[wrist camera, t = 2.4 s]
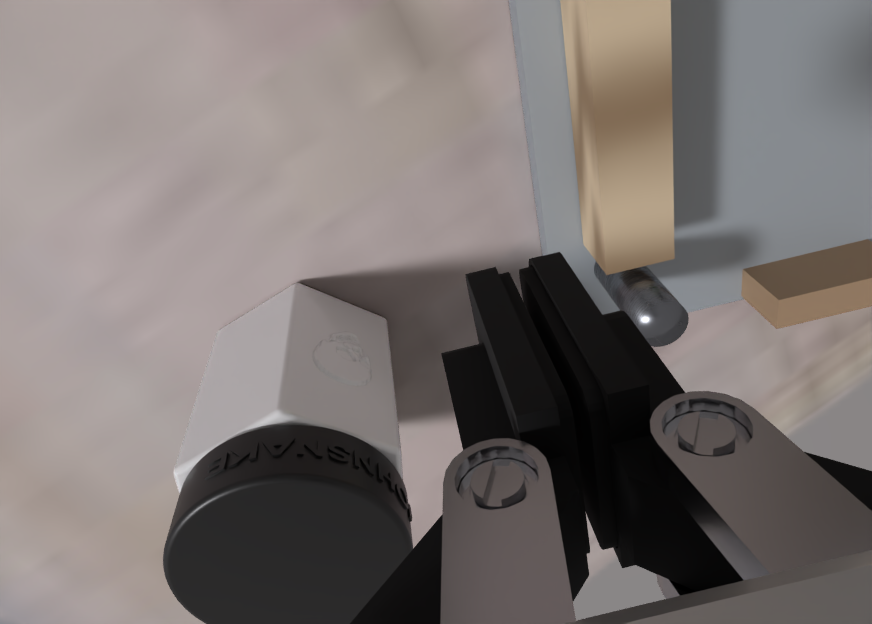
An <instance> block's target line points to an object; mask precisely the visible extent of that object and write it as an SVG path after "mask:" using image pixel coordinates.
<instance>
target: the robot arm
mask: <svg viewBox="0 0 872 624" xmlns="http://www.w3.org/2000/svg"><path fill="white" fill-rule="evenodd" d="M519 275H520V282H521V289H522V295H523V300H522V298H521V296H520V294H519V292H518V290H517V288H516V286H515V283H514V281H513V279H512V277H511V275H510V273H509V272H507V273H503V274H498V271H497V269H496V267H494V268H490V269H486V270H481V271H477V272H473V273H469V274H466V281H467V287H468V291H469V296H470V301H471V306H472V311H473V316H474V321H475V326H476V330H477V335H478V340H479V344H478V345H474V346H470V347H465V348H461V349H457V350H453V351H449V352H445V353H441V354H442V359H443V363H444V367H445V372H446V376H447V381H448V385H449V389H450V394H451V398H452V403H453V407H454V411H455V416H456V420H457V425H458V429H459V433H460V438H461V442H462V447H463V451H462V452H461V453H460V454H458V455H457V456H456V457H455V458H454V459H453V460H452V462H451V463H450V465H449V466H448V468H447V470H446V472H445V477H444V481H443V514H442V516H441V517H440V518H439V519H438V520H437V521H436V523H435V524H434V525H433V526H432V527H431V529H430V530H429V531H428V532H427V533H426V534H425V536H424V537H423V538H422V539H421V540H420V542H419V543H418V544H417V545H416V546H415V547H414V549H413V550H412V551H411V552H410V553H409V554H408V556H407V557H406V558H405V559H404V560H403V562H402V563H401V564H400V565H399V566H398V567H397V569H396V570H395V571H394V572H393V573H392V575H391V576H390V577H389V578H388V579H387V580H386V582H385V583H384V584H383V585H382V586H381V587H380V589H379V590H378V591H377V592H376V593H375V595H374V596H373V597H372V598H371V599H370V600H369V602H368V603H367V604H366V605H365V606H364V608H363V609H362V610H361V611H360V612H359V613H358V615H357V616H356V617H355V618H354V619H353V620H352V622H351V623H350V624H872V471H869V470H866V469H862V468H858V467H855V466H852V465H848V464H844V463H841V462H838V461H834V460H831V459H827V458H823V457H820V456H817V455H813V454H809V453H806V452H803V451H802V450H801V449H800V448H799V447H798V446H797V445H795V444H794V443H793V442H792V441H791V440H790V439H789V438H787V437H786V436H785V435H784V434H783V433H782V432H781V431H779V430H778V429H777V428H776V427H775V426H774V425H773V424H771V423H770V422H769V421H768V420H767V419H766V418H765V417H763V416H762V415H761V414H760V413H759V412H758V411H757V410H755V409H754V408H753V407H751V406H750V405H748V404H747V403H745V402H744V401H742V400H740V399H738V398H735V397H732V396H729V395H727V394H723V393H716V392H710V391H693V392H687V393H685V392H684V391H683V389H682V388H681V386H680V385H679V384H678V382H677V381H676V380H675V378H674V377H673V376H672V374H671V373H670V371H669V370H668V369H667V367H666V366H665V365H664V363H663V362H662V361H661V359H660V358H659V356H658V355H657V354H656V352H655V351H654V350H653V348H652V347H651V346H650V344H649V343H648V341H647V340H646V339H645V337H644V336H643V335H642V333H641V332H640V331H639V329H638V328H637V326H636V325H635V324H634V322H633V321H632V320H631V318H630V317H629V316H628V315H627V313H626V312H625V311H621V310H620V311H616V312H612V313H608V314H603V315H602V313H601V312H600V310H599V309H598V307H597V306H596V304H595V303H594V301H593V300H592V298H591V297H590V295H589V294H588V292H587V291H586V289H585V288H584V286H583V285H582V283H581V282H580V280H579V279H578V277H577V276H576V274H575V273H574V271H573V270H572V268H571V267H570V265H569V264H568V262H567V261H566V260H565V258H564V257H563V255H562V254H561V253H560V252H557V253H552V254H548V255H544V256H540V257H536V258H532V259H529V267H528V268H524V269H520V270H519ZM523 301H524V302H523ZM585 511H586V513H585ZM586 514H587V516H588V519H589V521H590V523H591V526H592V528H593V531H594V533H595V535H596V538H597V540H598V543H599V545H600V547H601V548H602V549H603V550H604V549H608V548H612V547H613V548H614V550H615V552H616V555H617V557H618V559H619V562H620V564H621V566H622V568H625V567H629V566H633V565H637V566H640V567H642V568H644V569H646V570H649V571H651V572H653V573H655V574H657V582H658V585H659V587H660V589H661V591H662V593H663V595H664V596H665V598H666V599H664V600H660V601H656V602H652V603H648V604H644V605H639V606H635V607H631V608H627V609H623V610H619V611H614V612H610V613H606V614H602V615H598V616H594V617H590V618H586V619H582V620H578V621H576V618H575V613H574V607H573V601H574V599H575V597H576V596H577V594H578V593H579V591H580V589H581V588H582V586H583V584H584V583H585V581H586V579H587V578H588V576H589V570H588V562H587V553H590V545H589V537H588V529H587V521H586Z"/></svg>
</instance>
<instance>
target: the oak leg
mask: <svg viewBox="0 0 872 624" xmlns="http://www.w3.org/2000/svg"><path fill="white" fill-rule="evenodd" d="M560 4H561V14H562V25H563V35H564V46H565V56H566V67H567V77H568V88H569V98H570V109H571V119H572V130H573V141H574V151H575V162H576V172H577V183H578V193H579V204H580V214H581V225H582V235H583V244H584V246H585V247H586V248H587V250H588V251H589V252H590V254H591V255H592V256H593V258H594V259H595V260H596V262H597V263H598V264H599V266H600V267H601V268H602V270H603V271H604V272H605V274H606V275H609V274H614V273H618V272H622V271H626V270H630V269H634V268H639V267H643V266H647V265H651V264H655V263H659V262H664V261H668V260H672V259H675V255H674V186H673V118H672V50H671V0H560Z"/></svg>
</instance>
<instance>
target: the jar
mask: <svg viewBox="0 0 872 624" xmlns="http://www.w3.org/2000/svg"><path fill="white" fill-rule="evenodd" d="M174 477H175V481H176V484H177V488H178V491H179V494H180V495H179V498H178V502H177V505H176V509H175V512H174V516H173V519H172V523H171V526H170V530H169V533H168V536H167V540H166V543H165V548H164V555H163V565H164V572H165V577H166V580H167V582H168V585H169V587H170V589H171V591H172V592H173V594H174V595H175V597H176V598H177V600H178V601H179V602H180V603H181V604H182V605H183V607H184V608H185V609H187V610H188V611H189V612H190V613H191V614H192V615H194V616H195V617H196V618H198V619H199V620H201V621H203V622H204V623H206V624H350V623H351V622H352V620H353V619H354V618H355V617H356V616H357V615H358V613H359V612H360V611H361V610H362V609H363V608H364V606H365V605H366V604H367V603H368V602H369V600H370V599H371V598H372V597H373V596H374V595H375V593H376V592H377V591H378V590H379V589H380V587H381V586H382V585H383V584H384V583H385V582H386V580H387V579H388V578H389V577H390V576H391V575H392V573H393V572H394V571H395V570H396V569H397V567H398V566H399V565H400V564H401V563H402V562H403V560H404V559H405V558H406V557H407V556H408V554H409V553H410V552H411V551H412V550H413V543H412V534H411V525H410V521H412V514H411V507H410V504H408V499H407V492H406V488H405V485H404V482H403V472H402V454H401V444H400V434H399V425H398V416H397V407H396V398H395V389H394V380H393V371H392V362H391V353H390V344H389V335H388V325H387V321H386V319H385V318H384V317H381V316H379V315H376V314H374V313H371V312H369V311H367V310H364V309H362V308H359V307H357V306H354V305H352V304H349V303H347V302H344V301H342V300H340V299H337V298H335V297H332V296H330V295H327V294H325V293H322V292H320V291H317V290H315V289H313V288H310V287H308V286H305V285H303V284H300V283H295V284H293V285H291V286H289V287H288V288H286V289H285V290H283V291H281V292H280V293H278V294H277V295H275V296H273V297H272V298H270V299H268V300H267V301H265V302H264V303H262V304H260V305H259V306H257V307H255V308H254V309H252V310H251V311H249V312H247V313H246V314H244V315H242V316H241V317H239V318H238V319H236V320H234V321H233V322H231V323H229V324H228V325H226V326H225V327H223V328H221V329H220V330H219V331H218V332H217V334H216V337H215V340H214V343H213V347H212V350H211V353H210V356H209V359H208V363H207V366H206V369H205V372H204V375H203V379H202V382H201V385H200V388H199V391H198V395H197V398H196V401H195V404H194V407H193V410H192V414H191V417H190V420H189V423H188V426H187V430H186V433H185V436H184V439H183V442H182V446H181V449H180V452H179V455H178V458H177V461H176V465H175V468H174Z"/></svg>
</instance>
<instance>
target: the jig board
mask: <svg viewBox="0 0 872 624" xmlns="http://www.w3.org/2000/svg"><path fill="white" fill-rule="evenodd" d="M509 7H510V15H511V22H512V30H513V37H514V45H515V52H516V60H517V67H518V75H519V83H520V90H521V98H522V105H523V113H524V120H525V128H526V135H527V143H528V150H529V158H530V165H531V173H532V181H533V188H534V196H535V203H536V211H537V218H538V226H539V233H540V241H541V248H542V256H544V255H548V254H552V253H557V252H560V253H561V254H562V255H563V257H564V258H565V260H566V261H567V262H568V264H569V265H570V267H571V268H572V270H573V271H574V273H575V274H576V276H577V277H578V279H579V280H580V282H581V283H582V285H583V286H584V288H585V289H586V291H587V292H588V294H589V295H590V297H591V298H592V300H593V301H594V303H595V304H596V306H597V307H598V309H599V310H600V312H601V313H602V315H603V314H608V313H612V312H616V311H620V310H619V308H618V307H617V306H616V304H615V303H614V301H613V300H612V299H611V297H610V296H609V294H608V293H607V292H606V290H605V289H604V288H603V286H602V285H601V283H600V282H599V281H598V279H597V278H596V276H595V273H594V265H595V262H596V260H595V259H594V258H593V256H592V255H591V254H590V252H589V251H588V250H587V248H586V247H585V246H584V244H583V235H582V225H581V214H580V204H579V193H578V183H577V172H576V162H575V151H574V141H573V130H572V119H571V109H570V98H569V88H568V77H567V67H566V56H565V46H564V35H563V25H562V14H561V4H560V0H509ZM671 50H672V118H673V186H674V255H675V259H672V260H668V261H664V262H659V263H655V264H651V265H647V267H648V268H649V269H650V270H651V271H652V273H653V274H654V275H655V276H656V277H657V278H658V279H659V280H660V281H661V283H662V284H663V285H664V286H665V287H666V288H667V289H668V290H669V291H670V293H671V294H672V295H673V296H674V297H675V298H676V299H677V300H678V302H679V303H680V304H681V305H682V306H683V307H684V308H685V310H686V311H687V313H688V312H692V311H696V310H700V309H705V308H709V307H713V306H717V305H721V304H725V303H730V302H734V301H738V300H742V299H745V300H746V301H747V302H748V303H749V304H750V305H751V306H752V307H753V308H755V309H756V310H757V311H758V312H759V313H760V314H761V315H762V316H763V317H764V318H765V319H766V320H767V321H769V322H770V323H771V324H772V325H773V326H774V327H775V328H776V329H779V328H783V327H787V326H791V325H795V324H799V323H804V322H808V321H812V320H816V319H820V318H824V317H829V316H833V315H837V314H841V313H845V312H849V311H854V310H858V309H862V308H866V307H870V306H872V0H671Z"/></svg>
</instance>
